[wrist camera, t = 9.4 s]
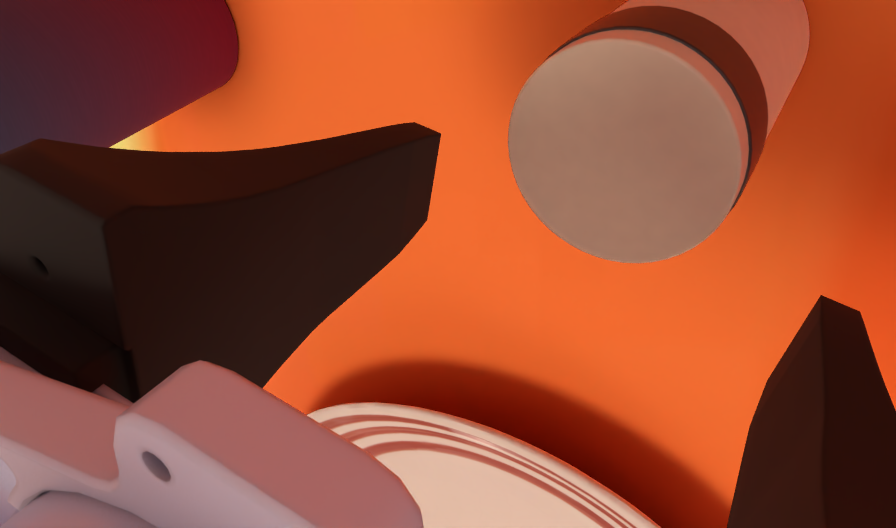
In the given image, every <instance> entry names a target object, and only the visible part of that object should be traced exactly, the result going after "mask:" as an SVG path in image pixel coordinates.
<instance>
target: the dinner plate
mask: <svg viewBox="0 0 896 528" xmlns="http://www.w3.org/2000/svg"><path fill="white" fill-rule="evenodd" d="M307 416H309V417H310V418H312V419H314V420H315V421H317V422H319V423H320V424H322V425H324V426H325V427H327V428H329V429H330V430H332V431H334V432H335V433H337V434H339V435H340V436H342V437H343V438H345V439H347V440H348V441H350V442H352V443H353V444H355V445H357V446H358V447H360V448H362V449H363V450H365V451H367V452H368V453H370V454H371V455H373V456H374V457H375V458H376V459H377V460H379V461H380V462H381V463H382V464H384V465H385V466H386V467H387V468H388V469H390V470H391V471H392V472H393V473H394V474H396V475H397V476H398V477H399V478H400V479H401V480H402V482H403V483H404V485H405V486H406V488H407V489H408V491H409V492H410V494H411V495H412V497H413V498H414V500H415V501H416V503H417V504H418V506H419V507H420V510H421V514H422V519H423V526H424V528H661V527H660V526H659V525H658V524H656V523H655V522H654V521H653V520H651V519H650V518H649V517H648V516H646V515H645V514H644V513H642V512H641V511H640V510H639V509H637V508H636V507H635V506H633V505H632V504H630V503H629V502H628V501H626V500H625V499H623V498H622V497H620V496H619V495H617V494H616V493H615V492H613V491H612V490H610V489H609V488H607V487H605V486H604V485H602V484H601V483H599V482H597V481H596V480H594V479H593V478H591V477H589V476H588V475H586V474H585V473H583V472H581V471H580V470H578V469H577V468H575V467H573V466H572V465H570V464H568V463H566V462H564V461H563V460H561V459H559V458H557V457H555V456H553V455H551V454H549V453H547V452H546V451H544V450H541V449H539V448H537V447H535V446H533V445H531V444H529V443H527V442H524V441H522V440H520V439H517V438H515V437H513V436H511V435H508V434H506V433H503V432H501V431H499V430H496V429H494V428H491V427H488V426H485V425H482V424H479V423H476V422H473V421H470V420H467V419H464V418H460V417H457V416H453V415H450V414H446V413H442V412H438V411H433V410H429V409H425V408H420V407H415V406H408V405H401V404H392V403H379V402H362V403H346V404H339V405H334V406H330V407H327V408H323V409H319V410H316V411H314V412H312V413H310V414H308V415H307Z"/></svg>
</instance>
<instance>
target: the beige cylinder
mask: <svg viewBox="0 0 896 528" xmlns="http://www.w3.org/2000/svg"><path fill="white" fill-rule="evenodd" d="M809 38H810V32H809V20H808V15H807V11H806V8H805V5H804V2H803V0H628V1H627V2H626V3H624V4H623V5H621V6H620V7H619V8H617V9H616V10H614V11H613V12H612V13H610V14H609V15H607V16H605V17H603V18H601V19H599V20H597V21H596V22H594V23H593V24H591V25H590V26H588V27H587V28H585V29H584V30H582V31H581V32H580V33H578V34H577V35H575V36H574V37H573V38H571V39H570V40H569V41H567V42H566V43H564V44H563V45H562V46H560V47H559V48H558V49H557V50H555V51H554V52H553V53H552V54H551V55H549V56H548V58H547V59H546V60H545V61H544V62H543V63H542V64H541V65H540V66H539V67H538V68H537V69H536V70H535V71H534V72H533V73H532V75H531V76H530V77H529V78H528V79H527V81H526V83H525V84H524V86H523V87H522V89H521V90H520V92H519V95H518V97H517V99H516V101H515V104H514V107H513V110H512V113H511V118H510V124H509V132H508V148H509V157H510V162H511V167H512V171H513V174H514V177H515V180H516V183H517V185H518V187H519V189H520V191H521V193H522V195H523V197H524V198H525V200H526V202H527V203H528V205H529V207H530V208H531V209H532V210H533V212H534V213H535V214H536V216H537V217H538V218H539V219H540V220H541V221H542V222H543V223H544V224H545V225H546V226H547V227H548V228H549V229H550V230H551V231H552V232H553V233H555V234H556V235H557V236H558V237H560V238H561V239H563V240H564V241H566V242H567V243H569V244H570V245H572V246H574V247H576V248H578V249H579V250H581V251H583V252H586V253H588V254H591V255H593V256H596V257H600V258H603V259H607V260H611V261H617V262H623V263H647V262H655V261H660V260H665V259H668V258H671V257H674V256H677V255H680V254H682V253H684V252H686V251H688V250H690V249H692V248H694V247H695V246H697V245H698V244H700V243H701V242H703V241H704V240H706V239H707V238H708V237H709V236H710V235H711V234H712V233H713V232H714V231H715V230H716V229H717V228H718V227H719V225H720V224H721V223H722V222H723V221H724V219H725V218H726V216H727V215H728V214H729V212H730V211H731V210H732V209H733V207H734V206H735V204H736V203H737V201H738V199H739V198H740V196H741V194H742V192H743V190H744V188H745V186H746V184H747V182H748V180H749V178H750V176H751V174H752V172H753V170H754V168H755V166H756V164H757V162H758V160H759V158H760V155H761V153H762V150H763V148H764V144H765V141H766V139H767V137H768V135H769V133H770V131H771V129H772V127H773V125H774V123H775V121H776V119H777V117H778V115H779V113H780V111H781V109H782V107H783V105H784V103H785V101H786V99H787V97H788V95H789V93H790V91H791V89H792V87H793V85H794V84H795V82H796V80H797V78H798V76H799V74H800V72H801V69H802V67H803V65H804V62H805V59H806V56H807V52H808V47H809Z"/></svg>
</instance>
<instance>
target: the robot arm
mask: <svg viewBox="0 0 896 528" xmlns="http://www.w3.org/2000/svg"><path fill="white" fill-rule="evenodd" d="M440 137H441V133H438V132H436V131H434V130H431V129H429V128H427V127H424V126H422V125H420V124H417V123H415V122H413V123H403V124H397V125H391V126H386V127H381V128H376V129H371V130H366V131H361V132H356V133H352V134H347V135H342V136H337V137H332V138H327V139H322V140H316V141H310V142H304V143H297V144H291V145H285V146H279V147H272V148H263V149H254V150H240V151H226V152H156V151H138V150H126V149H115V148H105V147H97V146H90V145H83V144H76V143H69V142H62V141H55V140H49V139H43V138H40V139H36V140H34V141H32V142H29V143H27V144H24V145H22V146H19V147H17V148H14V149H12V150H10V151H7V152H5V153H2V154H0V528H424V526H423V519H422V514H421V510H420V507H419V506H418V504H417V503H416V501H415V500H414V498H413V497H412V495H411V494H410V492H409V491H408V489H407V488H406V486H405V485H404V483H403V482H402V480H401V479H400V478H399V477H398V476H397V475H396V474H394V473H393V472H392V471H391V470H390V469H388V468H387V467H386V466H385V465H384V464H382V463H381V462H380V461H379V460H377V459H376V458H375V457H374V456H373V455H371V454H370V453H368V452H367V451H365V450H363V449H362V448H360V447H358V446H357V445H355V444H353V443H352V442H350V441H348V440H347V439H345V438H343V437H342V436H340V435H339V434H337V433H335V432H334V431H332V430H330V429H329V428H327V427H325V426H324V425H322V424H320V423H319V422H317V421H315V420H314V419H312V418H310V417H309V416H307V415H305V414H304V413H302V412H300V411H299V410H297V409H295V408H294V407H292V406H290V405H289V404H287V403H286V402H284V401H282V400H281V399H279V398H277V397H276V396H274V395H272V394H271V393H269V392H267V391H266V390H264V389H262V388H263V387H264V386H265V384H266V383H267V382H268V381H269V380H270V378H271V377H272V376H273V375H274V374H275V373H276V371H277V370H278V369H279V368H280V367H281V365H282V364H283V363H284V362H285V361H286V360H287V359H288V358H289V356H290V355H291V354H292V353H293V352H294V351H295V350H296V349H297V348H298V347H299V345H300V344H301V343H302V342H303V341H304V340H305V339H306V338H307V337H308V335H309V334H310V333H311V332H312V331H313V330H314V329H315V328H316V327H317V326H318V325H319V324H320V323H321V322H323V321H324V320H325V319H326V318H327V317H328V316H329V315H330V314H331V313H332V312H334V311H335V310H336V309H337V308H338V307H339V306H340V305H342V304H343V303H344V302H345V301H346V300H347V299H348V298H350V297H351V296H352V295H353V294H354V293H355V292H356V291H358V290H359V289H360V288H361V287H362V286H363V285H365V284H366V283H367V282H368V281H369V280H370V279H371V278H373V277H374V276H375V275H376V274H377V273H378V272H379V271H380V270H382V269H383V268H384V267H385V266H386V265H387V264H388V263H389V262H390V261H392V260H393V259H394V258H395V257H396V256H397V255H398V254H399V253H400V252H401V251H402V250H403V248H404V247H405V246H406V245H407V244H408V243H409V242H410V240H411V239H412V238H413V237H414V236H415V234H416V233H417V232H418V231H419V229H420V228H421V227H422V226H423V224H424V223H425V222H426V221H427V217H428V211H429V205H430V199H431V193H432V186H433V180H434V174H435V168H436V162H437V156H438V149H439V143H440ZM727 528H896V411H895V408H894V406H893V403H892V401H891V398H890V396H889V393H888V391H887V388H886V386H885V383H884V381H883V378H882V375H881V372H880V370H879V367H878V364H877V361H876V358H875V355H874V352H873V349H872V346H871V343H870V340H869V337H868V334H867V331H866V327H865V324H864V321H863V319H862V316H861V313H860V311H857V310H855V309H852V308H850V307H848V306H845V305H843V304H841V303H838V302H836V301H834V300H831V299H829V298H827V297H824V296H822V295H821V296H820V297H819V299H818V301H817V302H816V304H815V305H814V307H813V309H812V310H811V312H810V313H809V315H808V317H807V318H806V320H805V321H804V323H803V325H802V326H801V328H800V329H799V331H798V333H797V334H796V336H795V337H794V339H793V340H792V342H791V344H790V345H789V347H788V348H787V350H786V352H785V353H784V355H783V356H782V358H781V360H780V361H779V363H778V364H777V366H776V368H775V369H774V371H773V372H772V374H771V376H770V377H769V379H768V380H767V383H766V385H765V388H764V391H763V393H762V396H761V398H760V401H759V403H758V406H757V409H756V411H755V414H754V417H753V419H752V422H751V425H750V427H749V432H748V436H747V440H746V444H745V449H744V453H743V457H742V462H741V466H740V471H739V475H738V480H737V484H736V489H735V493H734V498H733V502H732V507H731V511H730V516H729V520H728V524H727Z"/></svg>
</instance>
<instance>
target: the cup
mask: <svg viewBox="0 0 896 528" xmlns="http://www.w3.org/2000/svg"><path fill="white" fill-rule="evenodd" d="M237 57H238V42H237V34H236V30H235V25H234V22H233V19H232V17H231V14H230V11H229V9H228V7H227V5H226V3H225V1H224V0H0V154H2V153H5V152H7V151H10V150H12V149H14V148H17V147H19V146H22V145H24V144H27V143H29V142H32V141H34V140H36V139H40V138H43V139H49V140H55V141H62V142H69V143H76V144H83V145H90V146H97V147H105V148H109V147H111V146H112V145H114V144H116V143H118V142H120V141H122V140H123V139H125V138H127V137H129V136H131V135H133V134H135V133H136V132H138V131H140V130H142V129H144V128H146V127H147V126H149V125H151V124H153V123H155V122H157V121H158V120H160V119H162V118H164V117H166V116H168V115H169V114H171V113H173V112H175V111H177V110H179V109H180V108H182V107H184V106H186V105H188V104H190V103H192V102H193V101H195V100H197V99H199V98H201V97H203V96H204V95H206V94H208V93H210V92H212V91H214V90H215V89H217V88H219V87H221V86H223V85H224V84H225V83H226V82H227V81H228V80H229V79H230V78H231V76H232V74H233V72H234V70H235V67H236V63H237Z"/></svg>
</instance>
